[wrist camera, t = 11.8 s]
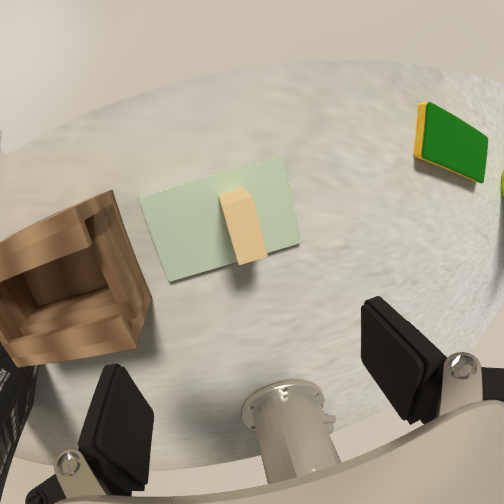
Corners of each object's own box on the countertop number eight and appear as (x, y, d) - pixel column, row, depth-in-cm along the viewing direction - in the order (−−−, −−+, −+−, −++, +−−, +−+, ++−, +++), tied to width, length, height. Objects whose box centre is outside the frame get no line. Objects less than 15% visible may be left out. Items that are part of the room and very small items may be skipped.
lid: (279, 157, 27) (301, 158, 21) (297, 239, 30) (321, 262, 24) (141, 197, 26) (122, 210, 20) (170, 276, 29) (162, 309, 23)
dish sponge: (472, 181, 31) (483, 184, 29) (410, 156, 29) (423, 158, 26) (477, 136, 29) (489, 137, 27) (416, 102, 26) (429, 101, 24)
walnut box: (112, 189, 25) (74, 207, 16) (152, 297, 29) (137, 347, 21) (6, 238, 24) (-38, 265, 15) (46, 324, 28) (17, 367, 20)
